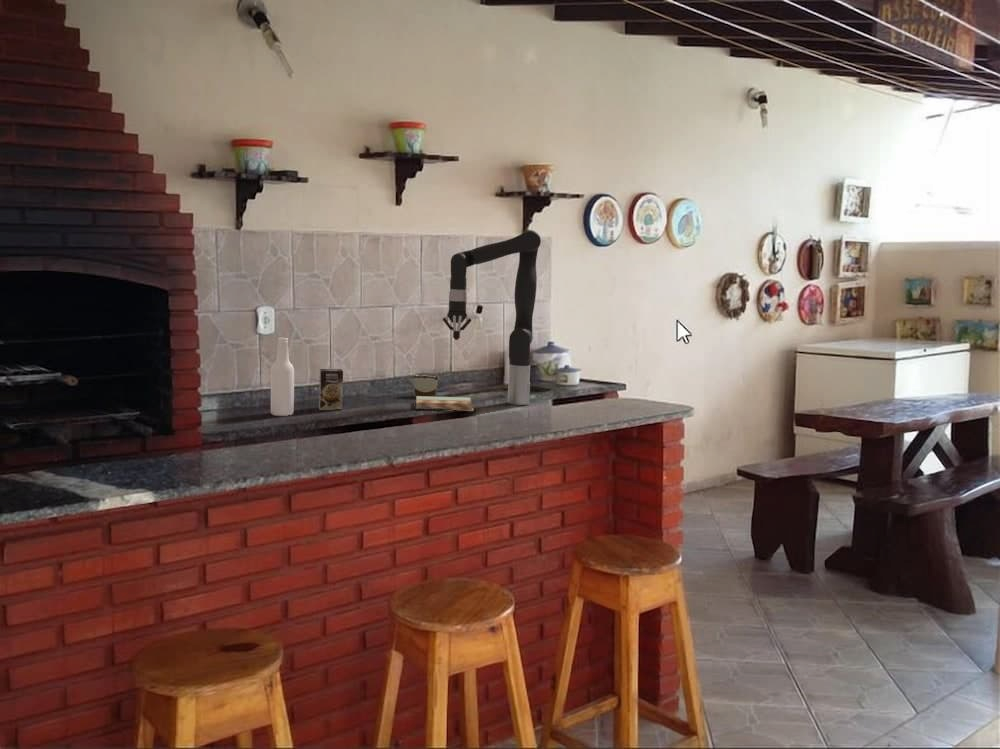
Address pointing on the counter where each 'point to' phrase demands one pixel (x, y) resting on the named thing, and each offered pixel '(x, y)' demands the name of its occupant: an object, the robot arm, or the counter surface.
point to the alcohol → (282, 382)
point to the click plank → (442, 398)
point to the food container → (425, 384)
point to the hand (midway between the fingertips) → (456, 339)
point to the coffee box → (330, 389)
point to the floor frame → (446, 404)
